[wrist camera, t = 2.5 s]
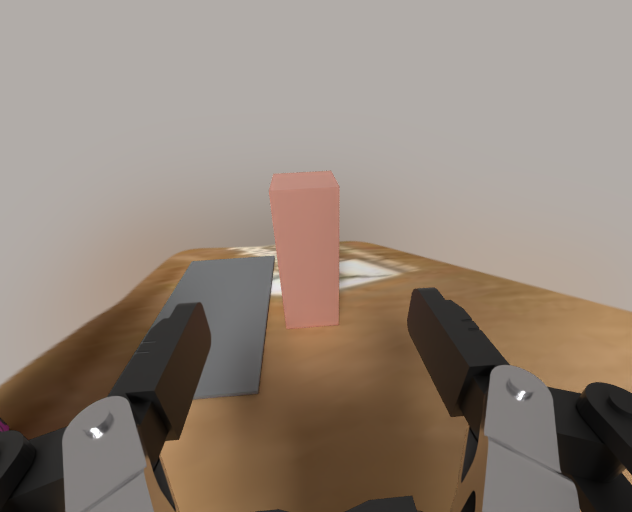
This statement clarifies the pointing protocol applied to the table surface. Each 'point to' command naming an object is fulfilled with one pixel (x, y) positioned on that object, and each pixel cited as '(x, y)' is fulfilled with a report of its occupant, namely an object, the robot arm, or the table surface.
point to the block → (307, 246)
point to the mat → (228, 320)
